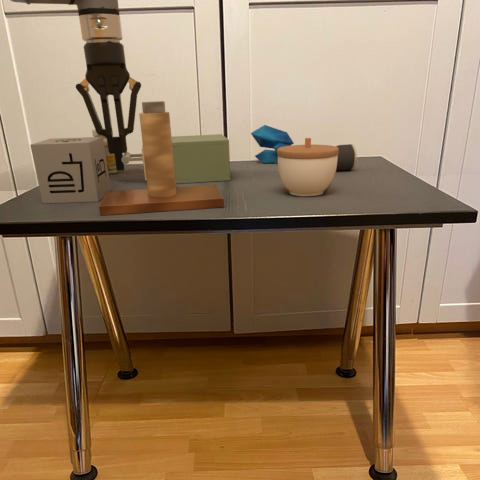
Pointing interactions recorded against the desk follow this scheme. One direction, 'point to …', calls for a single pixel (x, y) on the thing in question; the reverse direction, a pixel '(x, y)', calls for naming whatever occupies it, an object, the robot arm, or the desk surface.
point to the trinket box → (307, 167)
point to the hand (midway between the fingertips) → (120, 169)
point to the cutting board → (160, 200)
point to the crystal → (270, 143)
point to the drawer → (134, 159)
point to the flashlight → (346, 157)
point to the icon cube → (71, 169)
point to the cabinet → (201, 158)
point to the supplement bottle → (107, 154)
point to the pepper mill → (157, 149)
